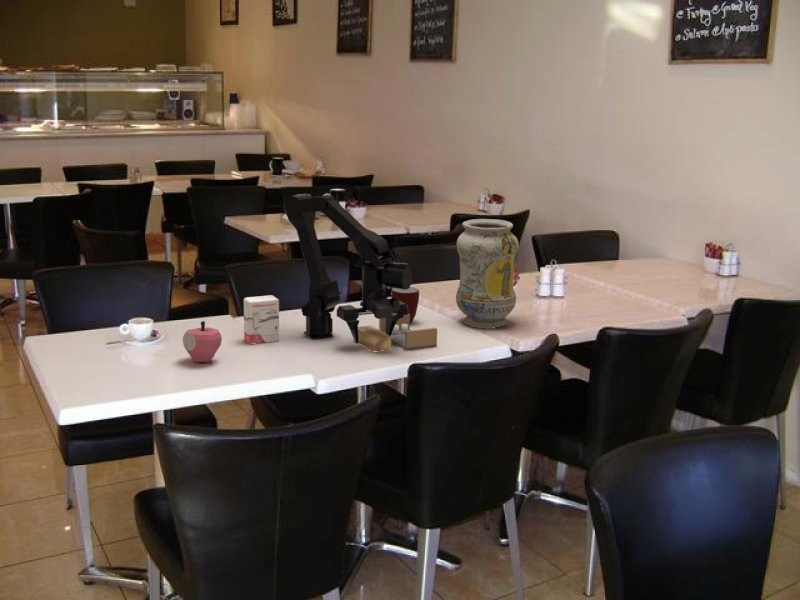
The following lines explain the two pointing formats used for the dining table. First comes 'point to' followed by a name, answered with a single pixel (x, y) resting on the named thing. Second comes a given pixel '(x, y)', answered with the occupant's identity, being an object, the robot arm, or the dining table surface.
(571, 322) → the dining table surface
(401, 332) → the peg stand
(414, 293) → the mug
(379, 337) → the tan wooden block
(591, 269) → the dining table surface
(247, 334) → the ink box
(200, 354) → the apple
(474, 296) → the vase
